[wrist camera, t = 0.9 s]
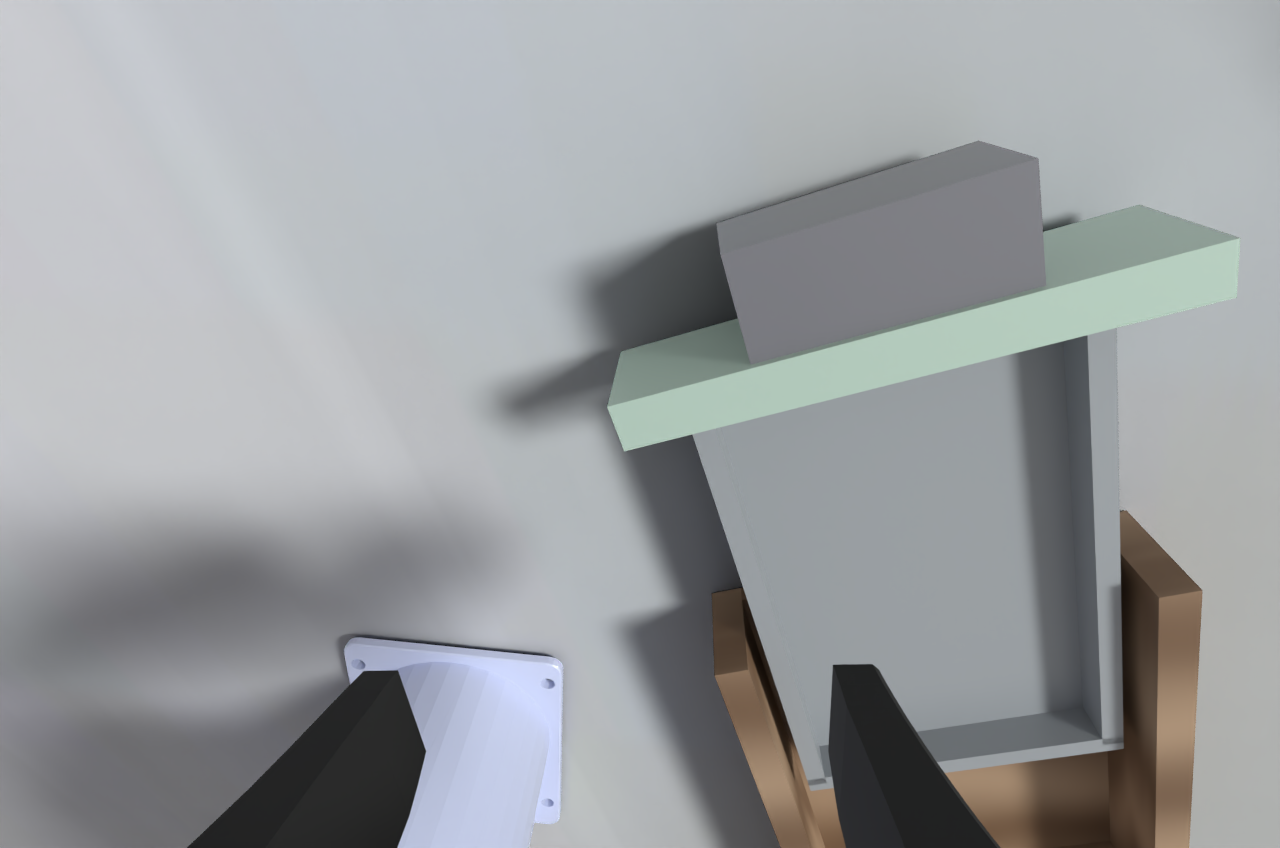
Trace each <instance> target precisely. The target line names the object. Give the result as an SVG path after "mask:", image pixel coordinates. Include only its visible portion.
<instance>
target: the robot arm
mask: <svg viewBox="0 0 1280 848" xmlns="http://www.w3.org/2000/svg"><path fill="white" fill-rule="evenodd" d="M344 656H345V661H346V667H347V672H348V677H349V682H350V685H349V686H348V688H347V689H346V690H345V691H344V692H343V693H342V694H341V695H340V696H339V697H338V698H337V699H336V700H335V701H334V702H333V703H332V704H331V705H330V706H329V707H328V708H327V709H326V710H325V711H324V713H323V714H322V715H321V716H320V717H319V718H318V719H317V720H316V721H315V722H314V723H313V724H312V725H311V726H310V727H309V728H308V729H307V730H306V731H305V732H304V733H303V734H302V736H301V737H300V738H299V739H298V740H297V741H296V742H295V743H294V744H293V745H292V746H291V747H290V748H289V749H288V750H287V751H286V752H285V753H284V754H283V755H282V756H281V757H280V758H279V759H278V760H277V761H276V762H275V763H274V764H273V765H272V766H271V767H270V768H269V769H268V770H267V771H266V772H265V773H264V774H263V775H262V776H261V777H260V778H259V779H258V780H257V781H256V782H255V783H254V785H253V786H252V787H250V788H249V789H248V790H247V791H246V792H245V793H244V794H243V795H242V796H241V797H240V798H239V799H238V800H237V801H236V802H235V803H234V804H233V805H232V806H231V807H230V808H228V809H227V810H226V811H225V812H224V813H223V814H222V815H221V816H220V817H219V818H218V819H217V820H216V821H215V822H214V823H213V824H212V825H211V826H210V827H209V828H207V829H206V830H205V831H204V832H203V833H202V834H201V835H200V836H199V837H198V838H197V839H196V840H195V841H194V842H193V843H192V844H191V845H189V846H188V847H187V848H529V845H530V841H531V836H532V831H533V826H534V822H535V823H544V824H553V823H556V822H557V821H558V820H559V818H560V812H561V766H562V708H563V665H562V663H561V662H560V661H559V660H557V659H556V658H553V657H548V656H538V655H528V654H518V653H508V652H499V651H489V650H479V649H469V648H459V647H449V646H440V645H430V644H420V643H410V642H400V641H390V640H381V639H371V638H361V637H357V638H352V639H350V640H349V641H348V643H347V644H346V646H345V648H344ZM361 660H362V661H361ZM547 679H550V680H547ZM828 753H829V760H830V766H831V773H832V779H833V786H834V792H835V799H836V805H837V811H838V817H839V822H840V826H841V830H842V834H843V838H844V842H845V846H846V848H1001V847H1000V846H999V845H998V844H997V842H996V841H995V840H994V839H993V837H992V836H991V835H990V833H989V832H988V831H987V830H986V828H985V827H984V826H983V825H982V823H981V822H980V821H979V819H978V818H977V817H976V815H975V814H974V813H973V811H972V810H971V809H970V807H969V806H968V805H967V803H966V802H965V801H964V799H963V798H962V796H961V795H960V794H959V792H958V791H957V790H956V788H955V787H954V785H953V784H952V783H951V781H950V780H949V778H948V777H947V776H946V774H945V773H944V771H943V770H942V769H941V767H940V766H939V764H938V763H937V762H936V760H935V759H934V757H933V756H932V754H931V753H930V751H929V750H928V748H927V747H926V745H925V744H924V743H923V741H922V739H921V738H920V736H919V735H918V733H917V732H916V730H915V729H914V727H913V726H912V724H911V723H910V721H909V720H908V718H907V716H906V715H905V713H904V712H903V710H902V708H901V707H900V705H899V703H898V702H897V700H896V698H895V697H894V695H893V693H892V692H891V690H890V688H889V687H888V685H887V683H886V681H885V680H884V678H883V676H882V674H881V672H880V670H879V669H878V668H877V667H875V666H874V665H873V664H840V665H833V672H832V690H831V709H830V727H829V745H828Z"/></svg>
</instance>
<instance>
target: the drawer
mask: <svg viewBox="0 0 1280 848" xmlns="http://www.w3.org/2000/svg"><path fill="white" fill-rule="evenodd" d="M716 225H717V232H718V240H719V248H720V255H721V259H722V262H723V266H724V270H725V273H726V277H727V280H728V284H729V288H730V291H731V295H732V299H733V302H734V306H735V310H736V313H737V317H738V319H734V320H730V321H727V322H723V323H720V324H716V325H713V326H709V327H706V328H702V329H699V330H695V331H692V332H688V333H685V334H681V335H678V336H674V337H670V338H667V339H663V340H660V341H656V342H653V343H649V344H646V345H642V346H639V347H635V348H632V349H628V350H625V351H621V353H620V357H619V361H618V365H617V369H616V373H615V377H614V381H613V385H612V389H611V393H610V397H609V401H608V405H607V408H608V411H609V413H610V416H611V418H612V421H613V424H614V426H615V429H616V431H617V434H618V436H619V439H620V442H621V444H622V447H623V449H624V451H628V450H632V449H636V448H640V447H644V446H648V445H652V444H656V443H660V442H664V441H668V440H672V439H676V438H680V437H684V436H688V435H693V438H694V441H695V444H696V447H697V450H698V453H699V456H700V459H701V462H702V465H703V468H704V471H705V474H706V477H707V480H708V483H709V486H710V489H711V492H712V495H713V498H714V501H715V504H716V507H717V510H718V513H719V516H720V519H721V522H722V525H723V528H724V531H725V534H726V537H727V540H728V544H729V547H730V550H731V553H732V556H733V559H734V562H735V565H736V568H737V571H738V574H739V577H740V580H741V583H742V586H743V589H744V592H745V595H746V598H747V601H748V604H749V607H750V610H751V613H752V616H753V619H754V622H755V625H756V628H757V631H758V634H759V637H760V640H761V643H762V646H763V649H764V652H765V655H766V658H767V661H768V664H769V667H770V670H771V673H772V676H773V679H774V682H775V685H776V688H777V691H778V694H779V697H780V700H781V703H782V706H783V709H784V712H785V715H786V718H787V721H788V724H789V727H790V730H791V733H792V736H793V739H794V742H795V745H796V748H797V751H798V754H799V757H800V760H801V763H802V766H803V769H804V772H805V775H806V778H807V781H808V784H809V787H810V790H811V791H815V790H823V789H830V788H834V786H833V779H832V773H831V766H830V760H829V753H828V745H829V727H830V709H831V690H832V672H833V665H840V664H873V665H874V666H875V667H877V668H878V669H879V670H880V672H881V674H882V676H883V678H884V680H885V681H886V683H887V685H888V687H889V688H890V690H891V692H892V693H893V695H894V697H895V698H896V700H897V702H898V703H899V705H900V707H901V708H902V710H903V712H904V713H905V715H906V716H907V718H908V720H909V721H910V723H911V724H912V726H913V727H914V729H915V730H916V732H917V733H918V735H919V736H920V738H921V739H922V741H923V743H924V744H925V745H926V747H927V748H928V750H929V751H930V753H931V754H932V756H933V757H934V759H935V760H936V762H937V763H938V764H939V766H940V767H941V769H942V770H943V771H944V773H948V772H956V771H963V770H971V769H978V768H985V767H993V766H1000V765H1008V764H1015V763H1022V762H1030V761H1037V760H1045V759H1052V758H1059V757H1067V756H1074V755H1082V754H1089V753H1096V752H1104V751H1111V750H1119V749H1124V741H1123V681H1122V620H1121V560H1120V500H1119V440H1118V380H1117V328H1118V327H1122V326H1126V325H1130V324H1134V323H1138V322H1142V321H1146V320H1150V319H1154V318H1158V317H1162V316H1166V315H1170V314H1174V313H1178V312H1182V311H1185V310H1189V309H1193V308H1197V307H1201V306H1205V305H1209V304H1213V303H1217V302H1221V301H1225V300H1229V299H1233V298H1237V283H1238V268H1239V252H1240V238H1239V237H1236V236H1233V235H1230V234H1227V233H1224V232H1221V231H1218V230H1215V229H1212V228H1209V227H1206V226H1202V225H1199V224H1196V223H1193V222H1190V221H1187V220H1184V219H1181V218H1178V217H1175V216H1172V215H1169V214H1166V213H1163V212H1160V211H1157V210H1154V209H1151V208H1148V207H1145V206H1142V205H1136V206H1133V207H1129V208H1126V209H1122V210H1119V211H1115V212H1112V213H1108V214H1105V215H1101V216H1098V217H1094V218H1091V219H1087V220H1084V221H1080V222H1076V223H1073V224H1069V225H1066V226H1062V227H1059V228H1055V229H1052V230H1048V231H1045V232H1043V224H1042V208H1041V192H1040V176H1039V161H1038V158H1036V157H1032V156H1029V155H1026V154H1022V153H1019V152H1015V151H1012V150H1009V149H1005V148H1002V147H998V146H995V145H992V144H988V143H985V142H981V141H976V142H973V143H970V144H967V145H964V146H960V147H957V148H954V149H951V150H948V151H945V152H941V153H938V154H935V155H932V156H929V157H925V158H922V159H919V160H916V161H913V162H910V163H906V164H903V165H900V166H897V167H894V168H891V169H887V170H884V171H881V172H878V173H875V174H871V175H868V176H865V177H862V178H859V179H856V180H852V181H849V182H846V183H843V184H840V185H836V186H833V187H830V188H827V189H824V190H821V191H817V192H814V193H811V194H808V195H805V196H801V197H798V198H795V199H792V200H789V201H786V202H782V203H779V204H776V205H773V206H770V207H767V208H763V209H760V210H757V211H754V212H751V213H747V214H744V215H741V216H738V217H735V218H732V219H728V220H725V221H722V222H719V223H716Z"/></svg>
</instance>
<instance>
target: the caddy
mask: <svg viewBox="0 0 1280 848" xmlns="http://www.w3.org/2000/svg"><path fill="white" fill-rule="evenodd" d="M1120 560H1121V620H1122V681H1123V741H1124V749H1119V750H1111V751H1104V752H1096V753H1089V754H1082V755H1074V756H1067V757H1059V758H1052V759H1045V760H1037V761H1030V762H1022V763H1015V764H1008V765H1000V766H993V767H985V768H978V769H971V770H963V771H956V772H948V773H945V774H946V776H947V777H948V778H949V780H950V781H951V783H952V784H953V785H954V787H955V788H956V790H957V791H958V792H959V794H960V795H961V796H962V798H963V799H964V801H965V802H966V803H967V805H968V806H969V807H970V809H971V810H972V811H973V813H974V814H975V815H976V817H977V818H978V819H979V821H980V822H981V823H982V825H983V826H984V827H985V828H986V830H987V831H988V832H989V833H990V835H991V836H992V837H993V839H994V840H995V841H996V842H997V844H998V845H999V846H1000V847H1001V848H1189V840H1190V821H1191V801H1192V782H1193V763H1194V743H1195V724H1196V705H1197V685H1198V666H1199V646H1200V627H1201V608H1202V589H1201V588H1200V587H1199V586H1198V585H1197V584H1196V583H1195V582H1194V581H1193V580H1192V579H1191V578H1190V577H1189V576H1188V575H1187V574H1186V573H1185V572H1184V571H1183V570H1182V569H1181V567H1180V566H1179V565H1178V564H1177V563H1176V562H1175V561H1174V560H1173V559H1172V558H1171V557H1170V556H1169V555H1168V554H1167V553H1166V552H1165V551H1164V550H1163V549H1162V548H1161V546H1160V545H1159V544H1158V543H1157V542H1156V541H1155V540H1154V539H1153V538H1152V537H1151V536H1150V535H1149V534H1148V533H1147V532H1146V531H1145V530H1144V529H1143V528H1142V527H1141V525H1140V524H1139V523H1138V522H1137V521H1136V520H1135V519H1134V518H1133V517H1132V516H1131V515H1130V514H1129V513H1128V512H1127V511H1121V512H1120ZM712 613H713V644H714V675H715V678H716V681H717V683H718V686H719V689H720V691H721V694H722V696H723V699H724V702H725V704H726V707H727V709H728V712H729V715H730V717H731V720H732V722H733V725H734V728H735V730H736V733H737V735H738V738H739V741H740V743H741V746H742V748H743V751H744V754H745V756H746V759H747V761H748V764H749V767H750V769H751V772H752V774H753V777H754V780H755V782H756V785H757V787H758V790H759V793H760V795H761V798H762V800H763V803H764V806H765V808H766V811H767V813H768V816H769V819H770V821H771V824H772V826H773V829H774V832H775V834H776V837H777V839H778V842H779V845H780V847H781V848H846V846H845V842H844V838H843V834H842V830H841V826H840V822H839V817H838V811H837V805H836V799H835V792H834V788H830V789H823V790H815V791H811V790H810V787H809V784H808V781H807V778H806V775H805V772H804V769H803V766H802V763H801V760H800V757H799V754H798V751H797V748H796V745H795V742H794V739H793V736H792V733H791V730H790V727H789V724H788V721H787V718H786V715H785V712H784V709H783V706H782V703H781V700H780V697H779V694H778V691H777V688H776V685H775V682H774V679H773V676H772V673H771V670H770V667H769V664H768V661H767V658H766V655H765V652H764V649H763V646H762V643H761V640H760V637H759V634H758V631H757V628H756V625H755V622H754V619H753V616H752V613H751V610H750V607H749V604H748V601H747V598H746V595H745V592H744V589H743V587H742V588H737V589H732V590H727V591H722V592H717V593H712Z"/></svg>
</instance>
